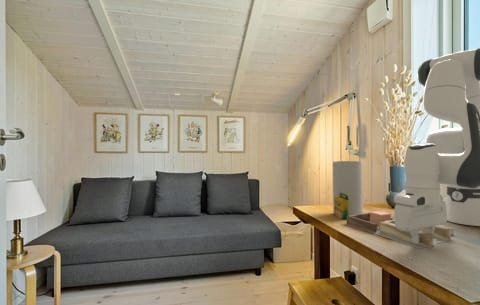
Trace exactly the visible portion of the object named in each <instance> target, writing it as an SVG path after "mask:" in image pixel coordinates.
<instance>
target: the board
mask: <svg viewBox="0 0 480 305" xmlns="http://www.w3.org/2000/svg"><path fill="white" fill-rule="evenodd" d="M368 222H370V221H368ZM346 225H347V226H350V227H353V228H356V229H359V230H361V231H364V232H365V231H366V232H368V233H371V234H375V235H378V236H380V237H384V238H386V239H390V240H392V241H395V242H399V243H401V244H405V245H408V246H410V247H414V248H416V249H423V248H426V247H425V246H422V245H419V244H416V243H412V242H409V241H406V240H403V239H400V238H397V237H394V236H390V235H387V234H384V233H381V232H380V228H378V227H377V232H376V233H374V232H371V231H368V230H365V229H362V228H359V227H356V226H353V225H350V224H347V223H346ZM456 239H457V238H456V237H452V236H451V239H449V240H443V239H440V238H436V237H434V246H436V245H437V244H440V243H441V244H442V243H445V242H448V241H452V240H456Z"/></svg>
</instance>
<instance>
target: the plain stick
mask: <svg viewBox="0 0 480 305" xmlns="http://www.w3.org/2000/svg"><path fill="white" fill-rule="evenodd" d="M419 231H422V232H425V231H426V228H422V229H419ZM451 232H452V230H451V227H447V226H443V225H436V226H435V230H434V232H433V235H434V237H436V238H440V239H443V240H449V239H451V237H452V236H451ZM449 241H450V240H449Z"/></svg>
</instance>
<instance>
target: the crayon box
mask: <svg viewBox="0 0 480 305" xmlns="http://www.w3.org/2000/svg"><path fill="white" fill-rule="evenodd" d="M342 195H344V196H345V197H343V196H342ZM333 215H334V217H336V218H338V219H340V220H342V221H343V220H345V221H347V216H349V213H348V195H345V194H342V193H340V197H334V213H333Z"/></svg>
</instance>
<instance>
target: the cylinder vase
mask: <svg viewBox="0 0 480 305" xmlns="http://www.w3.org/2000/svg"><path fill="white" fill-rule="evenodd" d="M340 193H342V194H345V195H348V213H349V216H350V215H356V214H362V213H364V211H363V208H364V206H363V162H362V161H356V160H354V161H353V160H352V161H351V160H350V161H349V160H341V161H340V160H338V161H335V160H334V161H332V200H333V201H332V203H333V205H332V206H333V214H334V197H340ZM342 196H343V197H345V196H344V195H342Z"/></svg>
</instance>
